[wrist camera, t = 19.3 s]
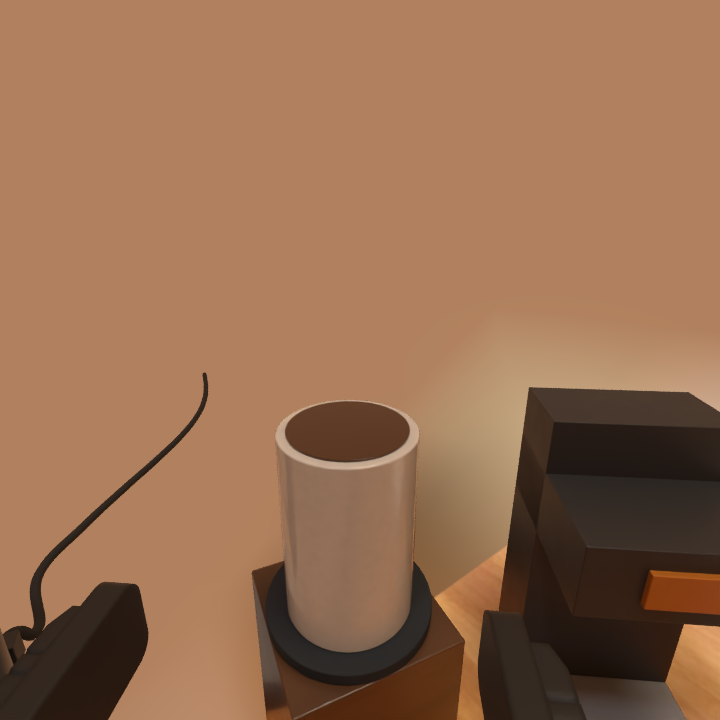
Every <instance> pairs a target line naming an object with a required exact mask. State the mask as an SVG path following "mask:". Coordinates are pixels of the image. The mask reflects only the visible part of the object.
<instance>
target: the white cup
mask: <svg viewBox="0 0 720 720" xmlns="http://www.w3.org/2000/svg"><path fill="white" fill-rule="evenodd" d="M419 439H420V433H419V429H418V427H417V424H416V423H415V422H414V420H413V419H412V418H411V417H410V416H408V415H407V414H405V413H404V412H402V411H400V410H398V409H396V408H394V407H391V406H387V405H384V404H380V403H376V402H369V401H360V400H338V401H329V402H323V403H318V404H314V405H310V406H307V407H304V408H302V409H299V410H297V411H295V412H294V413H292V414H290V415H289V416H287V417H286V418H285V419H284V420H283V421H282V422H281V423H280V424H279V426H278V428H277V430H276V433H275V442H276V456H277V469H278V482H279V483H278V484H279V497H280V512H281V526H282V540H283V554H284V568H285V582H286V596H287V609H288V613H289V616H290V618H291V621H292V623H293V624H294V626H295V628H296V629H297V630H298V631H299V632H300V634H301V635H302V636H304V637H305V638H306V639H307V640H308V641H310V642H311V643H313V644H315V645H317V646H319V647H321V648H324V649H327V650H330V651H335V652H344V653H352V652H361V651H365V650H369V649H372V648H375V647H377V646H379V645H381V644H383V643H385V642H386V641H388V640H389V639H391V638H392V637H393V636H394V635H395V634H396V633H397V632H398V631H399V630H400V629H401V627H402V626H403V624H404V623H405V621H406V620H407V617H408V615H409V612H410V608H411V599H412V580H413V559H414V539H415V519H416V517H415V516H416V499H417V479H418V458H419Z"/></svg>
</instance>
